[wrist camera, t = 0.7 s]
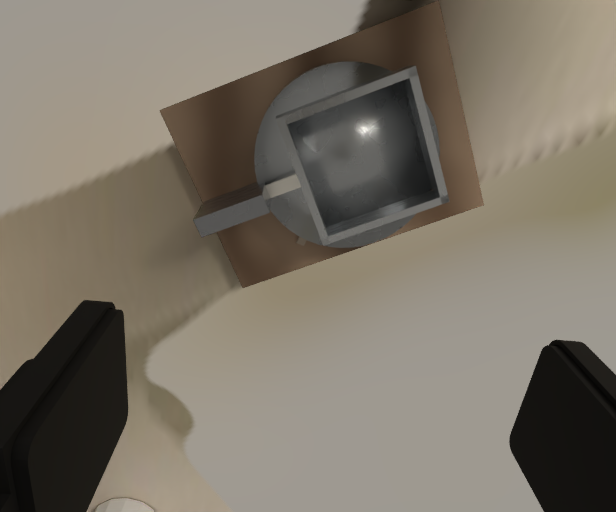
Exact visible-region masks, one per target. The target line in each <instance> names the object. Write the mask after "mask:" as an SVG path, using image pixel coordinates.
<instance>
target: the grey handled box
mask: <svg viewBox="0 0 616 512" xmlns="http://www.w3.org/2000/svg"><path fill="white" fill-rule="evenodd" d="M439 156H440V147H439V137H438V131H437V127H436V124H435V121H434V118H433V115H432V113H431V111H430V109H429V107H428V105H427V104H426V102H425V101H424V97H423V93H422V89H421V85H420V81H419V77H418V73H417V69H416V66H412V65H408V66H405V67H403V68H400V69H397V70H395V71H390V70H388V69H385V68H383V67H381V66H377V65H373V64H370V63H363V62H355V61H343V62H333V63H327V64H324V65H321V66H317V67H314V68H312V69H310V70H308V71H306V72H304V73H302V74H301V75H299V76H298V77H296V78H295V79H293V80H292V81H291V82H290V83H288V84H287V85H286V86H285V87H284V88H283V89H282V90H281V91H280V92H279V93H278V95H277V96H276V97H275V98H274V100H273V101H272V103H271V104H270V106H269V107H268V109H267V111H266V113H265V115H264V117H263V120H262V122H261V125H260V128H259V131H258V134H257V139H256V144H255V154H254V163H255V173H256V178H257V182H255V183H253V184H250V185H247V186H245V187H242V188H239V189H236V190H234V191H231V192H228V193H226V194H223V195H220V196H217V197H215V198H212V199H209V200H207V201H204V203H203V204H202V206H201V208H200V209H199V211H198V213H197V214H196V216H195V218H194V219H193V221H194V223H195V225H196V227H197V229H198V231H199V233H200V235H201V237H204V236H207V235H209V234H212V233H215V232H218V231H221V230H223V229H226V228H229V227H232V226H234V225H237V224H240V223H243V222H245V221H248V220H251V219H254V218H257V217H259V216H262V215H265V214H268V213H270V210H271V212H272V213H273V214H274V216H275V217H276V218H277V219H278V220H279V221H280V222H281V223H282V224H283V225H284V226H285V227H286V228H288V229H289V230H290V231H292V232H293V233H295V234H296V235H298V236H299V237H301V238H303V239H305V240H307V241H310V242H313V243H316V244H318V245H323V246H328V247H336V248H352V247H359V246H364V245H368V244H371V243H375V242H377V241H380V240H382V239H384V238H386V237H388V236H390V235H392V234H393V233H395V232H396V231H398V230H399V229H400V228H402V227H403V226H404V225H406V224H407V223H408V222H409V221H410V220H411V219H412V218H413V217H414V216H415V215H416V213H419V212H422V211H425V210H427V209H430V208H433V207H436V206H439V205H442V204H445V203H448V202H450V201H449V197H448V193H447V189H446V185H445V181H444V177H443V173H442V169H441V165H440V161H439Z"/></svg>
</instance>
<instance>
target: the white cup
mask: <svg viewBox="0 0 616 512" xmlns="http://www.w3.org/2000/svg"><path fill="white" fill-rule="evenodd" d="M94 512H155V511H154V510H153V509H152V508H151V507H149V506H148V505H146V504H145V503H143V502H141V501H138V500H134V499H129V498H117V499H110V500H108V501H106V502H104V503H102V504H100V505H98V507H97V508H96V509H95V511H94Z"/></svg>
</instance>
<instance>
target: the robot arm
mask: <svg viewBox="0 0 616 512" xmlns="http://www.w3.org/2000/svg"><path fill="white" fill-rule="evenodd" d="M127 416H128V394H127V374H126V353H125V332H124V315H123V311H122V310H116V309H115V306H114V304H113V303H112V302H101V301H90V300H84V301H83V302H82V303H81V304H80V305H79V306H78V307H77V308H76V310H75V311H74V312H73V313H72V314H71V315H70V317H69V318H68V319H67V320H66V321H65V323H64V324H63V325H62V326H61V327H60V328H59V330H58V331H57V332H56V333H55V334H54V336H53V337H52V338H51V339H50V340H49V341H48V343H47V344H46V345H45V346H44V347H43V348H42V350H41V351H40V352H39V353H38V354H37V356H36V357H35V358H34V359H30V360H27V361H26V362H25V363H24V364H23V365H22V366H21V367H20V368H19V369H18V370H17V371H16V373H15V374H14V375H13V376H12V377H11V378H10V379H9V381H8V382H7V383H6V384H5V385H4V386H3V388H2V389H1V390H0V512H86V511H87V509H88V507H89V505H90V502H91V500H92V498H93V496H94V494H95V491H96V489H97V487H98V485H99V482H100V480H101V478H102V476H103V474H104V471H105V469H106V467H107V465H108V463H109V460H110V458H111V456H112V454H113V451H114V449H115V447H116V445H117V443H118V440H119V438H120V436H121V434H122V432H123V429H124V427H125V424H126V421H127ZM510 448H511V451H512V453H513V455H514V457H515V459H516V461H517V463H518V464H519V466H520V468H521V470H522V472H523V474H524V476H525V477H526V479H527V481H528V483H529V485H530V487H531V488H532V490H533V492H534V494H535V496H536V498H537V499H538V501H539V503H540V505H541V507H542V509H543V511H544V512H616V375H615V374H614V373H613V372H612V371H611V370H610V369H609V368H608V367H607V366H606V365H605V364H604V363H603V362H602V361H601V360H600V359H599V358H598V357H597V356H596V355H595V354H594V353H593V352H592V351H591V350H590V349H589V348H588V347H587V346H586V345H585V344H584V343H582V342H576V341H563V340H554V341H552V342H551V343H550V344H549V346H548V345H547V346H545V347H544V348H543V349H542V351H541V354H540V356H539V359H538V362H537V365H536V367H535V370H534V372H533V375H532V378H531V380H530V383H529V386H528V389H527V391H526V394H525V397H524V399H523V402H522V405H521V407H520V410H519V413H518V416H517V418H516V421H515V423H514V426H513V429H512V431H511V435H510Z"/></svg>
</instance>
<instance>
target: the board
mask: <svg viewBox="0 0 616 512" xmlns="http://www.w3.org/2000/svg"><path fill="white" fill-rule="evenodd" d="M343 61H355V62H363V63H370V64H373V65H377V66H381V67H383V68H385V69H388V70H390V71H395V70H397V69H400V68H403V67H405V66H408V65H412V66H416V69H417V73H418V77H419V81H420V85H421V89H422V93H423V97H424V101H425V102H426V104H427V105H428V107H429V109H430V111H431V113H432V115H433V118H434V121H435V124H436V127H437V131H438V137H439V147H440V156H439V161H440V165H441V169H442V173H443V177H444V181H445V185H446V189H447V193H448V197H449V201H450V202H448V203H445V204H442V205H439V206H436V207H433V208H430V209H427V210H425V211H422V212H419V213H416V215H415V216H414V217H413V218H412V219H411V220H410V221H409V222H408V223H407V224H406V225H404V226H403V227H402V228H400V229H399V230H398V231H396V232H395V233H393V234H392V235H390V236H388V237H386V238H384V239H387V238H390V237H392V236H395V235H398V234H401V233H404V232H407V231H410V230H412V229H416V228H419V227H421V226H424V225H427V224H430V223H433V222H436V221H439V220H442V219H445V218H448V217H450V216H453V215H456V214H459V213H462V212H465V211H468V210H471V209H473V208H477V207H479V206H482V205H484V203H483V199H482V194H481V190H480V185H479V181H478V176H477V172H476V167H475V162H474V158H473V153H472V149H471V144H470V140H469V135H468V131H467V126H466V122H465V117H464V112H463V108H462V103H461V99H460V94H459V90H458V85H457V81H456V76H455V72H454V67H453V63H452V58H451V53H450V49H449V44H448V40H447V35H446V31H445V26H444V22H443V17H442V13H441V8H440V3H439V0H438V1H436V2H433V3H430V4H428V5H425V6H423V7H420V8H418V9H415V10H413V11H410V12H408V13H405V14H403V15H400V16H397V17H395V18H392V19H390V20H387V21H385V22H382V23H380V24H377V25H375V26H372V27H370V28H367V29H365V30H362V31H359V32H357V33H354V34H352V35H349V36H347V37H344V38H342V39H339V40H337V41H334V42H332V43H329V44H327V45H324V46H322V47H319V48H317V49H314V50H311V51H309V52H306V53H304V54H301V55H299V56H296V57H294V58H291V59H289V60H286V61H283V62H281V63H278V64H276V65H273V66H271V67H268V68H266V69H263V70H261V71H258V72H256V73H253V74H251V75H248V76H245V77H243V78H240V79H238V80H235V81H233V82H230V83H228V84H225V85H223V86H220V87H218V88H215V89H213V90H210V91H207V92H205V93H202V94H200V95H197V96H195V97H192V98H190V99H187V100H185V101H182V102H179V103H177V104H174V105H172V106H170V107H167V108H164V109H162V110H160V112H161V115H162V117H163V119H164V121H165V123H166V125H167V127H168V129H169V132H170V134H171V136H172V138H173V140H174V142H175V145H176V147H177V149H178V151H179V153H180V155H181V157H182V159H183V162H184V164H185V166H186V168H187V170H188V172H189V174H190V176H191V179H192V181H193V183H194V185H195V187H196V189H197V191H198V194H199V196H200V198H201V200H202V202H203V203H204V201H207V200H209V199H212V198H215V197H217V196H220V195H223V194H226V193H228V192H231V191H234V190H236V189H239V188H242V187H245V186H247V185H250V184H253V183H255V182H257V178H256V173H255V163H254V154H255V144H256V139H257V134H258V131H259V128H260V125H261V122H262V120H263V117H264V115H265V113H266V111H267V109H268V107H269V106H270V104H271V103H272V101H273V100H274V98H275V97H276V96H277V95H278V93H279V92H280V91H281V90H282V89H283V88H284V87H285V86H286V85H287V84H288V83H290V82H291V81H292V80H293V79H295V78H296V77H298V76H299V75H301V74H302V73H304V72H306V71H308V70H310V69H312V68H314V67H317V66H321V65H324V64H327V63H333V62H343ZM217 234H218V236H219V238H220V240H221V243H222V245H223V247H224V249H225V251H226V253H227V255H228V257H229V260H230V262H231V264H232V266H233V268H234V270H235V272H236V275H237V277H238V279H239V281H240V283H241V285H242V287H243V288H245V287H247V286H250V285H253V284H256V283H259V282H262V281H265V280H268V279H271V278H274V277H276V276H279V275H282V274H285V273H288V272H291V271H294V270H296V269H300V268H303V267H305V266H308V265H311V264H314V263H317V262H320V261H323V260H326V259H329V258H332V257H334V256H337V255H340V254H343V253H346V252H349V251H352V250H355V249H358V248H361V247H363V246H359V247H352V248H336V247H328V246H323V245H318V244H316V243H313V242H310V241H307V240H305V239H303V238H301V237H299V236H298V235H296V234H295V233H293V232H292V231H290V230H289V229H288V228H286V227H285V226H284V225H283V224H282V223H281V222H280V221H279V220H278V219H277V218H276V217H275V216H274V214H273V213H272V212H271V210H270V213H268V214H265V215H262V216H259V217H257V218H254V219H251V220H248V221H245V222H243V223H240V224H237V225H234V226H232V227H229V228H226V229H223V230H221V231H218V232H217ZM384 239H382V240H384ZM380 241H381V240H380ZM377 242H378V241H377ZM371 244H372V243H371ZM368 245H369V244H368ZM364 246H366V245H364Z"/></svg>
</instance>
